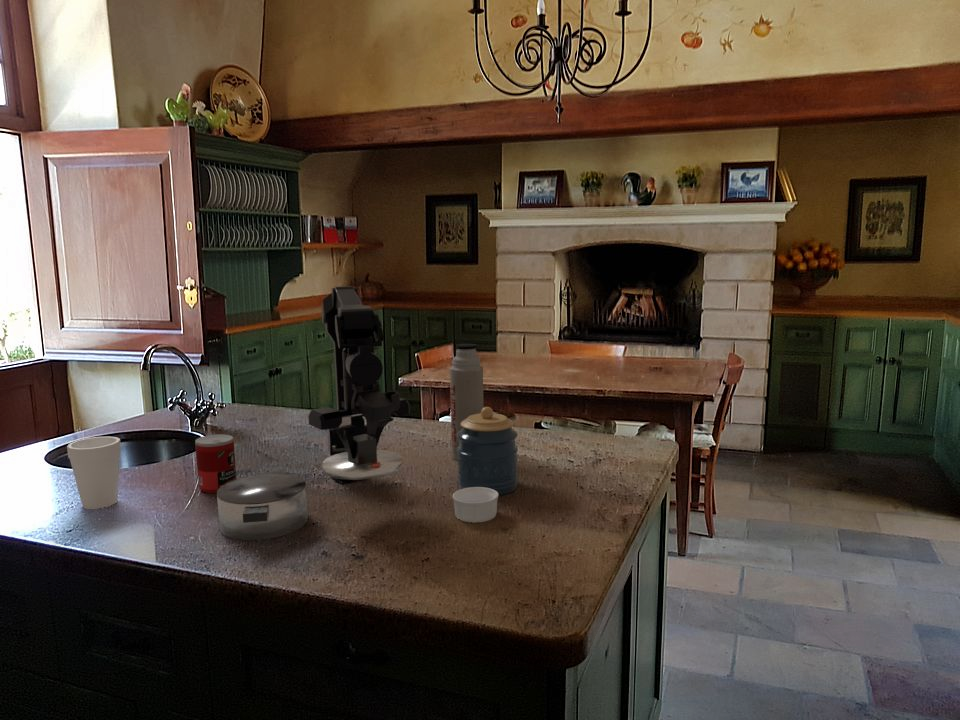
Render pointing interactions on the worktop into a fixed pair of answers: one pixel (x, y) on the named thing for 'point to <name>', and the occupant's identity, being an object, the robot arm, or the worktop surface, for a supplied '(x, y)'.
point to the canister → (487, 452)
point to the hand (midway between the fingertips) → (362, 456)
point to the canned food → (215, 461)
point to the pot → (262, 506)
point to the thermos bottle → (464, 389)
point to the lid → (362, 461)
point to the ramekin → (475, 504)
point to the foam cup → (96, 470)
